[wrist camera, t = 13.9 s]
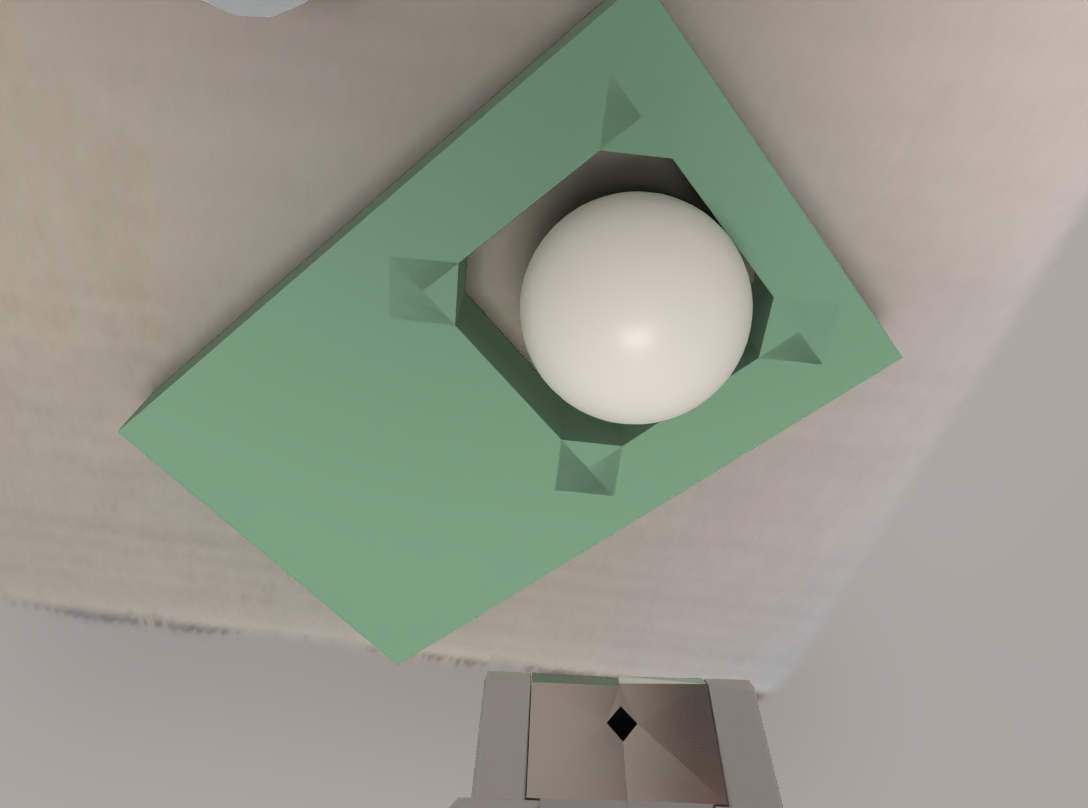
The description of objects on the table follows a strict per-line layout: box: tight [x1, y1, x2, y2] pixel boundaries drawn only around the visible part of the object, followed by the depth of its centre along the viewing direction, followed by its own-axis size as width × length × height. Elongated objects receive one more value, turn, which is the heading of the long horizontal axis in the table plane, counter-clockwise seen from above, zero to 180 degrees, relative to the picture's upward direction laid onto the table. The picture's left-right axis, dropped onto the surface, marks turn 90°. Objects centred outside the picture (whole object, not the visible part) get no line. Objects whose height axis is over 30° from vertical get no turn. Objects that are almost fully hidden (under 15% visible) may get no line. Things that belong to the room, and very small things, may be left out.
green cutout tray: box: [118, 0, 902, 665], centre depth 43 cm, size 32×20×4 cm, turn 129°
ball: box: [520, 191, 753, 424], centre depth 38 cm, size 10×10×10 cm
